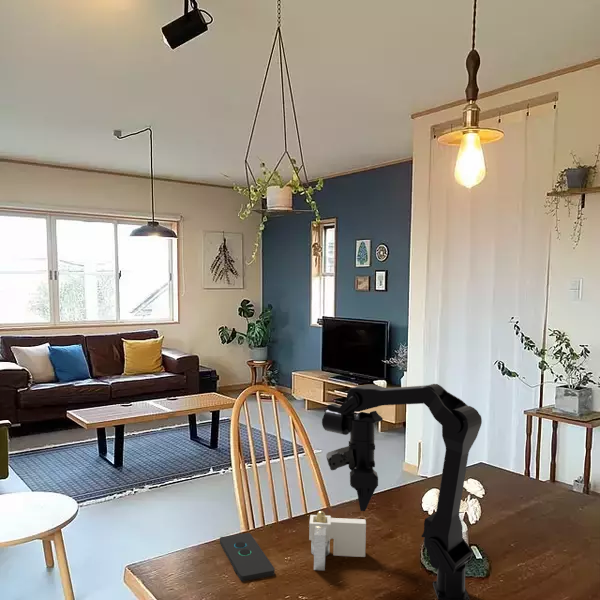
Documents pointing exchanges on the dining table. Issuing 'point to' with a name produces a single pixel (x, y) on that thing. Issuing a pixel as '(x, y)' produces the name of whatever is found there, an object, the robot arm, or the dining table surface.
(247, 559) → the smart home device
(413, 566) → the dining table surface
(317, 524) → the square loop paddle
